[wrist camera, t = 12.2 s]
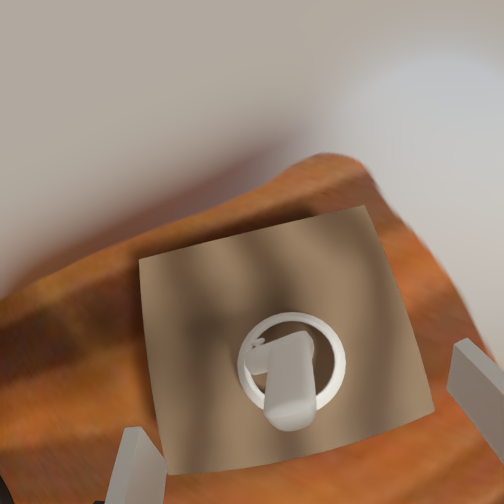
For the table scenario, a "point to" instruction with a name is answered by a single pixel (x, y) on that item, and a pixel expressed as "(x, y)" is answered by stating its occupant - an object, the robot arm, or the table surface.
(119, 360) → the table surface
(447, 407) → the table surface
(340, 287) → the small wooden table
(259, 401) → the white ring with handle
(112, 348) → the table surface
